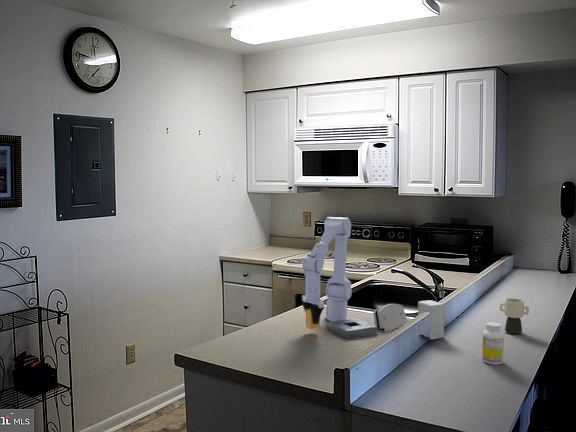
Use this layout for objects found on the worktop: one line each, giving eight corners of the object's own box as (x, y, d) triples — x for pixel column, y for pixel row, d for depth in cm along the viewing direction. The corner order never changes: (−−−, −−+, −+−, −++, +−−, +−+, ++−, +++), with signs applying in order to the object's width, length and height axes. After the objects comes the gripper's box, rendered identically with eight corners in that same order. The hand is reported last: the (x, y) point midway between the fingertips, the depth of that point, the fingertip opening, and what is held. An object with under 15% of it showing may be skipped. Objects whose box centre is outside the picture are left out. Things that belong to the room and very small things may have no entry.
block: (305, 326, 217) (305, 309, 216) (314, 325, 219) (314, 307, 218) (310, 329, 213) (310, 311, 213) (319, 327, 215) (319, 310, 214)
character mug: (530, 333, 216) (531, 300, 215) (525, 337, 211) (526, 303, 210) (502, 328, 223) (503, 296, 222) (496, 332, 217) (497, 299, 216)
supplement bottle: (486, 357, 188) (487, 320, 187) (506, 361, 184) (507, 323, 183) (479, 362, 183) (480, 324, 182) (499, 366, 179) (500, 327, 178)
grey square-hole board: (327, 329, 221) (327, 322, 221) (357, 325, 228) (357, 318, 227) (346, 338, 209) (346, 331, 209) (377, 334, 215) (377, 326, 215)
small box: (444, 337, 210) (444, 304, 209) (430, 339, 208) (431, 305, 207) (429, 332, 218) (430, 299, 217) (417, 334, 215) (417, 301, 214)
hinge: (385, 331, 218) (378, 306, 220) (376, 333, 222) (370, 308, 223) (411, 324, 229) (404, 300, 231) (402, 325, 233) (396, 302, 234)
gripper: (295, 285, 219) (295, 318, 221) (312, 292, 206) (312, 328, 208) (310, 283, 223) (310, 316, 224) (329, 290, 210) (329, 325, 211)
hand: (312, 322), depth 216 cm, fingers closed on block, 4 cm apart
